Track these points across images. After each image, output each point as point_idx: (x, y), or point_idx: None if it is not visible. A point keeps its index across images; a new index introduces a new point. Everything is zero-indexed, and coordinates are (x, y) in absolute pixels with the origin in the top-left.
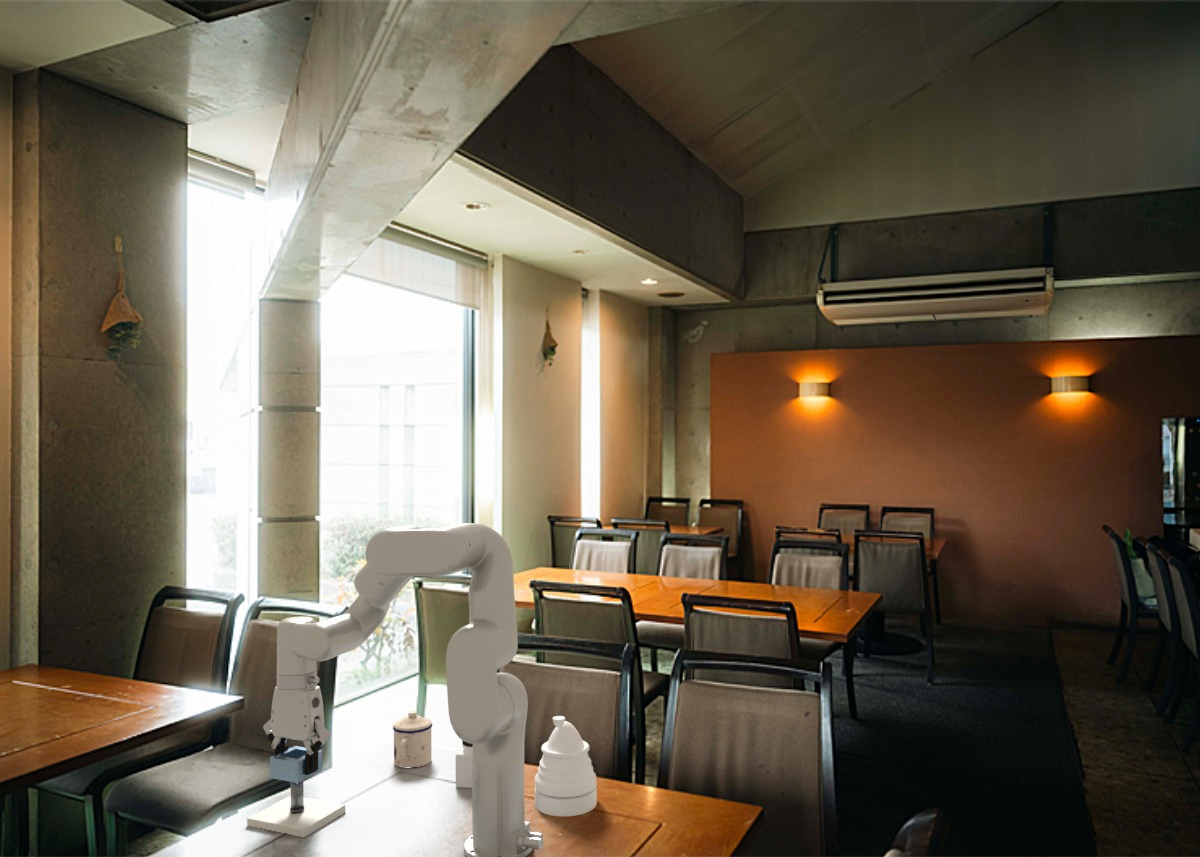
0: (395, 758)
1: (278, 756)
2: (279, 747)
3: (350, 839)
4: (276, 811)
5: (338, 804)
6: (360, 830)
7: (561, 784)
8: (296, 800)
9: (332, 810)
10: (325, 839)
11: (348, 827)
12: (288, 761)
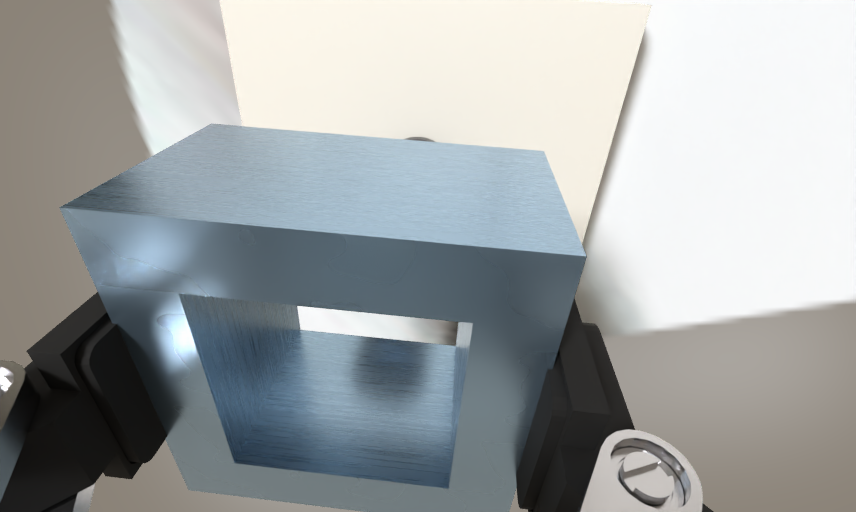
0: None
1: (232, 469)
2: (106, 462)
3: (769, 259)
4: None
5: (601, 16)
6: (798, 178)
7: None
8: None
9: (602, 105)
10: (655, 279)
11: (722, 166)
12: (398, 508)
